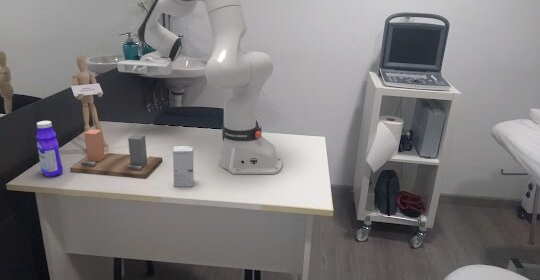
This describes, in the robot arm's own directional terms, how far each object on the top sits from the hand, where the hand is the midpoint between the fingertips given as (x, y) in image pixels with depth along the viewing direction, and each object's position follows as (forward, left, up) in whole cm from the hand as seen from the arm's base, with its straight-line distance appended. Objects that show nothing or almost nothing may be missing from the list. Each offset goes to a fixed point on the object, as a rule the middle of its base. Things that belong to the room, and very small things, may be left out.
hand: (136, 71), depth 151 cm
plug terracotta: (+6, +24, -26) cm, 36 cm away
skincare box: (-28, +32, -28) cm, 51 cm away
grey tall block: (-10, +25, -26) cm, 38 cm away
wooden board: (-2, +24, -28) cm, 37 cm away
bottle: (+16, +33, -28) cm, 46 cm away
